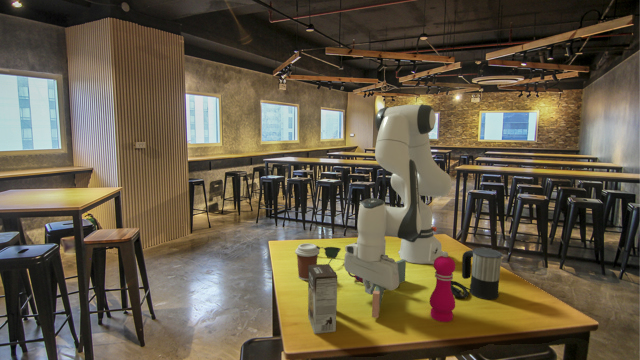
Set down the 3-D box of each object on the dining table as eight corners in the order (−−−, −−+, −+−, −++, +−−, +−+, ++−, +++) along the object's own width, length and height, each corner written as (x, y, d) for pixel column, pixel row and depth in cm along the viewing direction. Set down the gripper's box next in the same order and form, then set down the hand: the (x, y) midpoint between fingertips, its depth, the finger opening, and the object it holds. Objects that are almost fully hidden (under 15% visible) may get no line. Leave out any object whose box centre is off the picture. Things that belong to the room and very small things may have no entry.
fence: (400, 279, 133) (402, 248, 132) (406, 281, 131) (407, 249, 130) (326, 310, 109) (326, 272, 107) (331, 313, 107) (331, 275, 106)
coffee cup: (316, 271, 140) (316, 241, 138) (321, 280, 131) (322, 249, 129) (293, 273, 138) (293, 243, 136) (296, 282, 129) (297, 250, 127)
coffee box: (307, 317, 105) (307, 264, 103) (328, 315, 106) (329, 263, 104) (313, 334, 96) (314, 276, 94) (336, 331, 97) (338, 274, 95)
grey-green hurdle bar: (380, 287, 123) (381, 267, 122) (385, 288, 123) (386, 268, 122) (371, 317, 103) (372, 293, 102) (378, 318, 103) (379, 294, 102)
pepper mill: (430, 309, 111) (433, 246, 108) (454, 313, 108) (459, 249, 105) (427, 319, 104) (431, 253, 101) (453, 325, 101) (458, 257, 99)
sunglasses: (292, 268, 144) (292, 256, 143) (304, 254, 160) (304, 244, 159) (332, 272, 140) (332, 260, 139) (340, 258, 156) (340, 247, 155)
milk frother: (503, 294, 122) (507, 252, 120) (484, 309, 111) (487, 263, 109) (462, 281, 132) (465, 242, 130) (441, 294, 121) (444, 252, 119)
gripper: (404, 258, 106) (402, 302, 107) (355, 241, 121) (354, 280, 123) (390, 263, 102) (389, 308, 103) (341, 245, 117) (340, 285, 119)
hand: (369, 293), depth 113 cm, fingers closed
